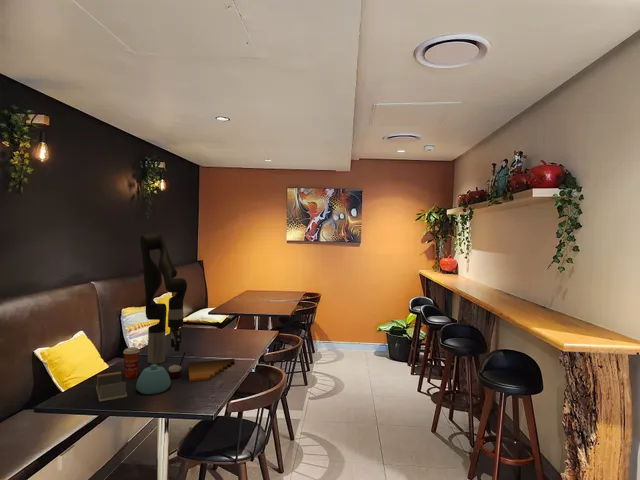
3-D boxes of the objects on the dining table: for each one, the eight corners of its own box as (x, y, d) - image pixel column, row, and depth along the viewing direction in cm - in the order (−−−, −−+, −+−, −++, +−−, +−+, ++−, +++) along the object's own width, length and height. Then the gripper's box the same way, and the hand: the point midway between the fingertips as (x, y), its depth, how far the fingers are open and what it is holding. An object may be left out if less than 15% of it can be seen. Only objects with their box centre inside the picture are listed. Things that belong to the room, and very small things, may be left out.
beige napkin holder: (95, 387, 192) (96, 374, 192) (121, 383, 198) (121, 371, 198) (99, 401, 176) (99, 387, 176) (127, 396, 182) (127, 383, 182)
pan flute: (233, 363, 233) (187, 367, 225) (233, 357, 233) (187, 361, 225) (240, 378, 210) (189, 383, 202) (240, 371, 210) (189, 376, 201)
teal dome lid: (160, 381, 202) (160, 358, 202) (176, 389, 192) (177, 364, 192) (130, 389, 190) (130, 365, 190) (146, 398, 181) (146, 372, 181)
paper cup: (121, 379, 203) (121, 351, 203) (124, 374, 211) (124, 347, 211) (138, 378, 205) (138, 350, 205) (140, 373, 213) (141, 346, 213)
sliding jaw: (97, 385, 192) (97, 375, 192) (120, 381, 197) (120, 371, 197) (97, 387, 190) (97, 376, 190) (121, 383, 195) (121, 373, 195)
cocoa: (164, 380, 205) (163, 356, 204) (168, 375, 211) (167, 352, 210) (184, 379, 206) (183, 355, 205) (187, 374, 212) (186, 351, 211)
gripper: (165, 315, 212) (164, 347, 212) (171, 320, 200) (170, 353, 200) (179, 314, 216) (179, 345, 216) (186, 319, 204) (186, 351, 204)
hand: (175, 349), depth 208 cm, fingers open, 8 cm apart
